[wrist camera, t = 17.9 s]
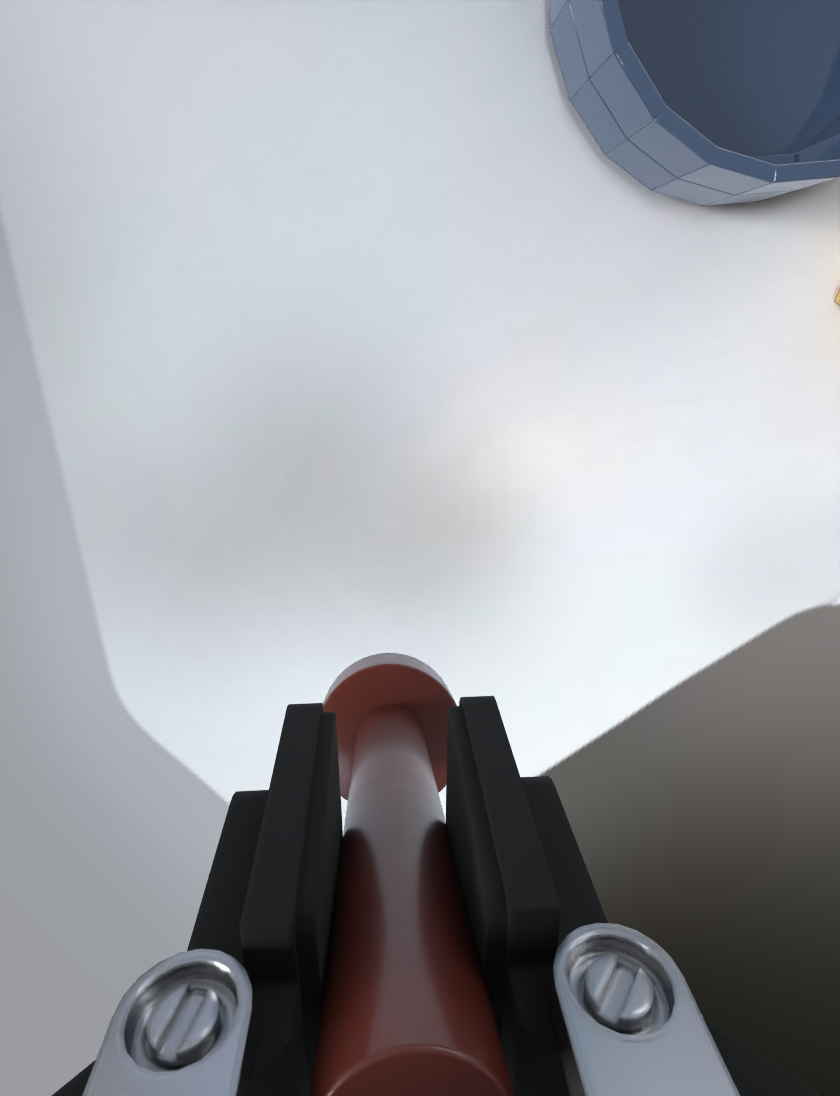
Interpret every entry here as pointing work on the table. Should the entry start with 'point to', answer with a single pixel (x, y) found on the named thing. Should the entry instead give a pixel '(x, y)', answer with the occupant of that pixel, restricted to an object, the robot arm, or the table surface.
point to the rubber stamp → (838, 298)
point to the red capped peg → (400, 905)
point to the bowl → (707, 91)
